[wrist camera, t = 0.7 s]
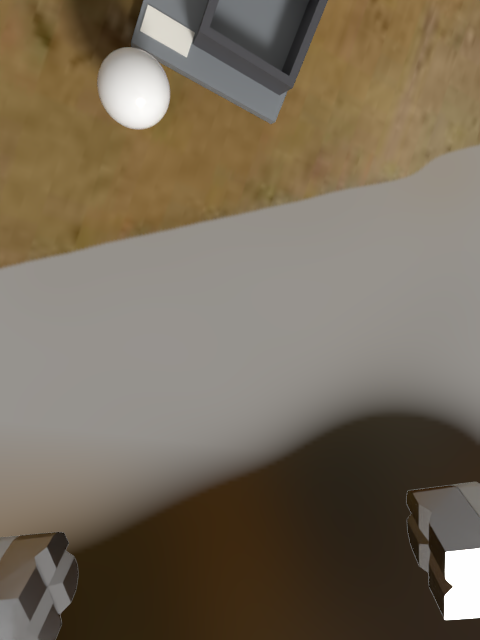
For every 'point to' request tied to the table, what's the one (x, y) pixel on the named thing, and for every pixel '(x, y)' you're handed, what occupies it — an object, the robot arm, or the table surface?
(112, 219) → the table surface
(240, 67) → the socket board
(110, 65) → the lightbulb
